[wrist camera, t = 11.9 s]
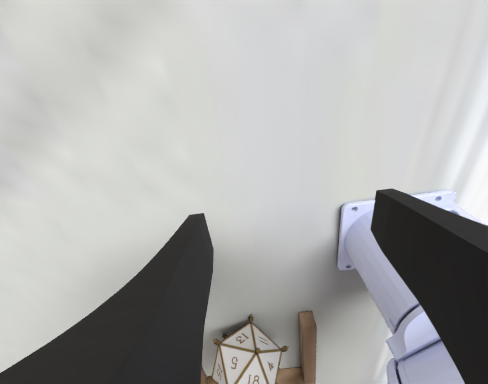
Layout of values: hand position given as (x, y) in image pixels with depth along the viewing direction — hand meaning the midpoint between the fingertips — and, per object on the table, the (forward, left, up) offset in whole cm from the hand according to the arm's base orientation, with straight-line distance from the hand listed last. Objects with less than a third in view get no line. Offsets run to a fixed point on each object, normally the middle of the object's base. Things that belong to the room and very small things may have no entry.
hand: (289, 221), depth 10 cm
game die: (+5, +23, -10) cm, 26 cm away
